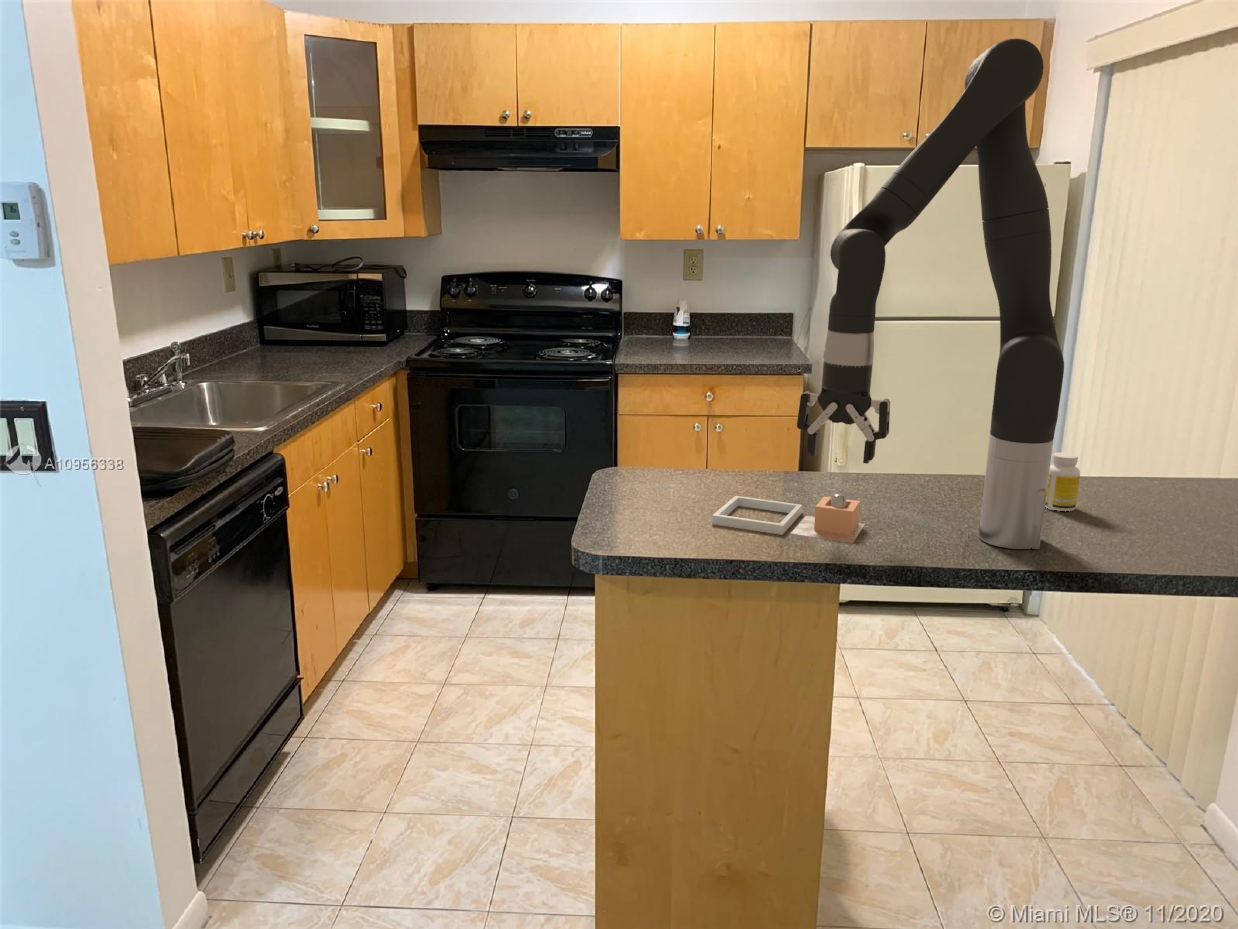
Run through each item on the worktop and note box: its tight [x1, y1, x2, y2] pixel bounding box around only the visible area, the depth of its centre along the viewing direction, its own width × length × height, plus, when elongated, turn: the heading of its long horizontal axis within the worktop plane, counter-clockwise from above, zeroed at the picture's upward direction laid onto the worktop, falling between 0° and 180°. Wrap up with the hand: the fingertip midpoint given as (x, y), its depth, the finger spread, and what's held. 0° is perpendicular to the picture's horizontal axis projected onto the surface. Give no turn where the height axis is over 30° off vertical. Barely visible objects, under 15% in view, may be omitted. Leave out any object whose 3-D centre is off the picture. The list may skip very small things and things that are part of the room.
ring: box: [814, 496, 861, 535], centre depth 152 cm, size 6×6×4 cm
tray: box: [711, 495, 803, 536], centre depth 156 cm, size 12×12×2 cm
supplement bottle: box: [1045, 452, 1081, 513], centre depth 164 cm, size 5×5×10 cm
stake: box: [790, 492, 866, 544], centre depth 151 cm, size 10×10×6 cm
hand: (839, 459), depth 149 cm, fingers open, 8 cm apart
